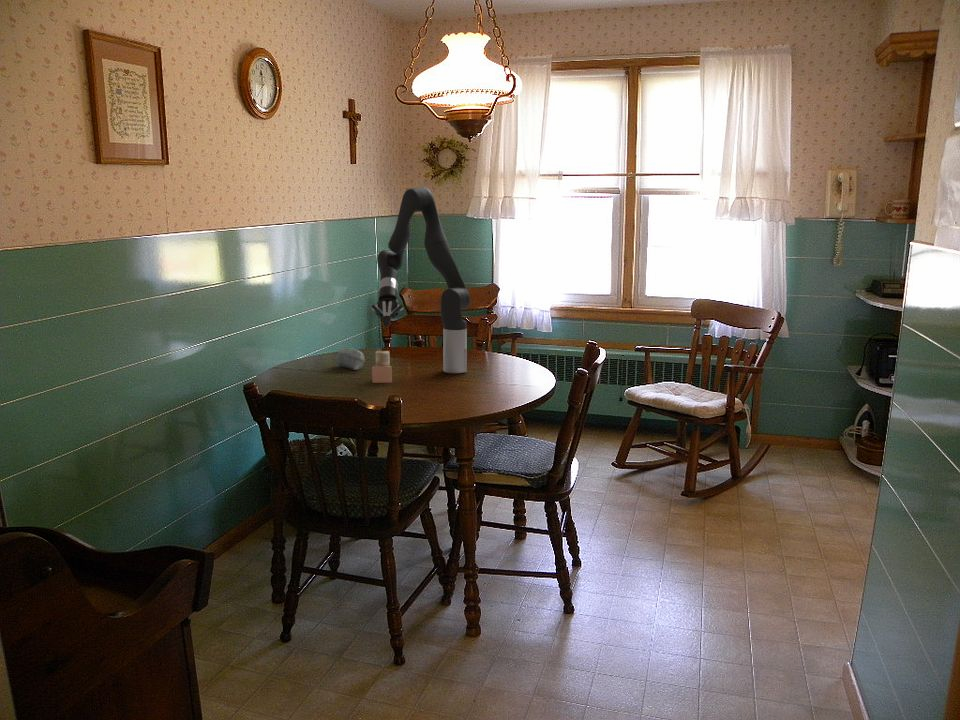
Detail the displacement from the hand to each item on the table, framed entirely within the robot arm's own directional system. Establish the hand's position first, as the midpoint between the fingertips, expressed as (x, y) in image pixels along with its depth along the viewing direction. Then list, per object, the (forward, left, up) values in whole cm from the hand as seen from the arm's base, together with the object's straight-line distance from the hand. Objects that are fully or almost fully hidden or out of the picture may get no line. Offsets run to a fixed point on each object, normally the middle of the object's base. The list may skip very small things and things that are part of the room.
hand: (386, 325), depth 302 cm
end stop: (0, +20, -18) cm, 27 cm away
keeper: (0, +17, -18) cm, 25 cm away
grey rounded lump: (+15, -4, -18) cm, 24 cm away
